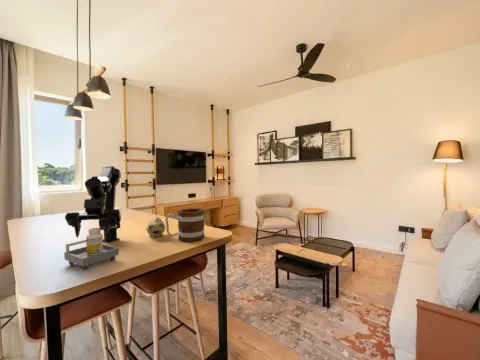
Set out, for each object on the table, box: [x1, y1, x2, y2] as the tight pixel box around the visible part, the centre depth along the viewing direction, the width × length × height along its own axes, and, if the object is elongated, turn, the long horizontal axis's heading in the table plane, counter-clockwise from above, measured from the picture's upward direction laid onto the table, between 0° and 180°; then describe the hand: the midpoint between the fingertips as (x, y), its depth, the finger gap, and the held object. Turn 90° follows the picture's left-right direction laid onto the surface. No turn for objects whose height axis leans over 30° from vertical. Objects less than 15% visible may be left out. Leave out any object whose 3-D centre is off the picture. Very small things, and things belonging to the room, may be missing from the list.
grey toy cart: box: [63, 239, 120, 271], centre depth 89 cm, size 14×13×8 cm
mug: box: [165, 208, 206, 243], centre depth 119 cm, size 20×14×15 cm
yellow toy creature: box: [145, 216, 166, 238], centre depth 124 cm, size 10×12×11 cm
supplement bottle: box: [85, 227, 104, 255], centre depth 90 cm, size 5×5×10 cm
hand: (91, 235), depth 88 cm, fingers open, 9 cm apart
